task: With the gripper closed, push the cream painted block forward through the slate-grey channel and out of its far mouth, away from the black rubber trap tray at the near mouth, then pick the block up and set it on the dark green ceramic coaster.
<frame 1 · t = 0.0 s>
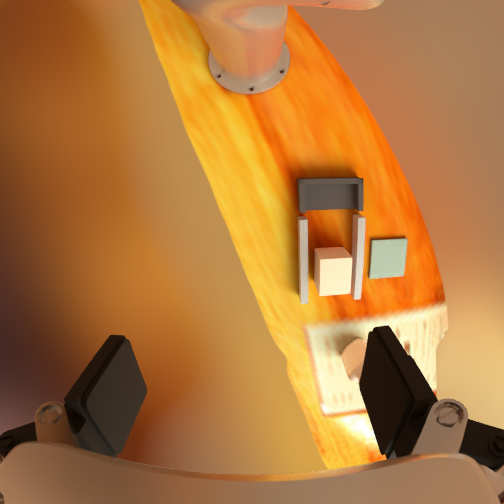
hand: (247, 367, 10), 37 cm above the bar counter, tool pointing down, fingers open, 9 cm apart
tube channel: (329, 256, 47), on the bar counter
trap tray: (328, 193, 44), on the bar counter
eye dropper bottle: (352, 347, 53), on the bar counter
green coaster: (387, 257, 47), on the bar counter
cream block: (328, 264, 48), on the bar counter
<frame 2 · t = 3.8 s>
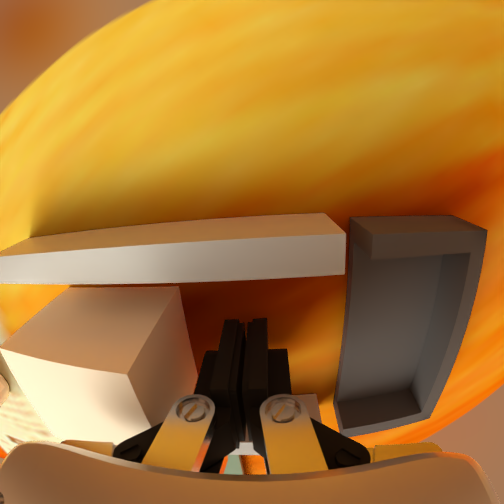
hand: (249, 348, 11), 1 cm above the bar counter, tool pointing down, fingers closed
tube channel: (165, 336, 12), on the bar counter
trap tray: (393, 323, 12), on the bar counter
green coaster: (191, 457, 16), on the bar counter
cream block: (130, 334, 13), on the bar counter, touching gripper
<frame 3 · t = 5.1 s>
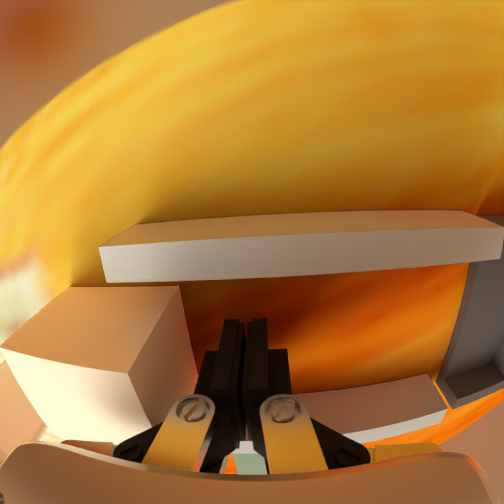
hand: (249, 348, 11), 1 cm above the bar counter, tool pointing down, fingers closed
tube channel: (313, 331, 12), on the bar counter
trap tray: (489, 304, 12), on the bar counter
eye dropper bottle: (33, 383, 15), on the bar counter
green coaster: (287, 458, 16), on the bar counter
cream block: (130, 333, 13), on the bar counter, touching gripper
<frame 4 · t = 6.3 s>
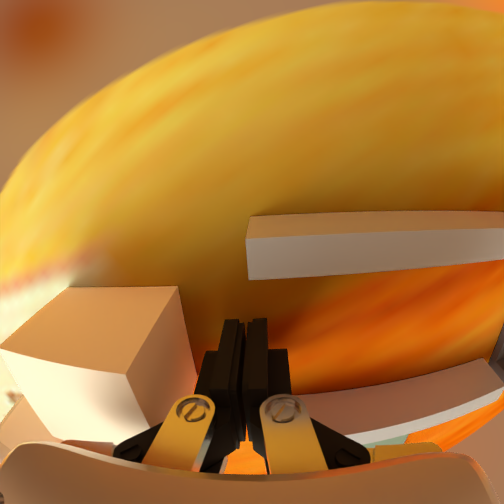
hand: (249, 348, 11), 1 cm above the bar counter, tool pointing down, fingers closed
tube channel: (407, 321, 12), on the bar counter
eye dropper bottle: (74, 396, 15), on the bar counter
cream block: (129, 334, 13), on the bar counter, touching gripper
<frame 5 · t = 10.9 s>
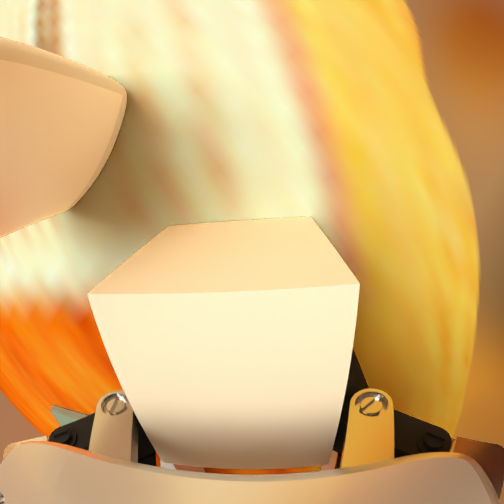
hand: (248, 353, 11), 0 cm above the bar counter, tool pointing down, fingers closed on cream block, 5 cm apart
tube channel: (262, 468, 15), on the bar counter
eye dropper bottle: (82, 142, 9), on the bar counter
green coaster: (109, 444, 15), on the bar counter
cream block: (244, 298, 11), on the bar counter, touching gripper
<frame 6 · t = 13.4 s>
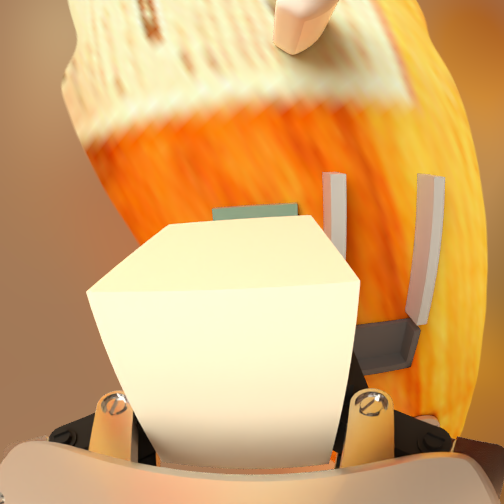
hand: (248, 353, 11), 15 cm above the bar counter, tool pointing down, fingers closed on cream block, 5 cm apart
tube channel: (377, 249, 25), on the bar counter
trap tray: (366, 342, 28), on the bar counter
eye dropper bottle: (299, 31, 19), on the bar counter
green coaster: (257, 244, 25), on the bar counter
cream block: (244, 297, 11), point 14 cm above the bar counter, touching gripper
when the fingers open (3 cm above the bar counter, at t = 15.9 s): cream block drops 1 cm, resting on green coaster.
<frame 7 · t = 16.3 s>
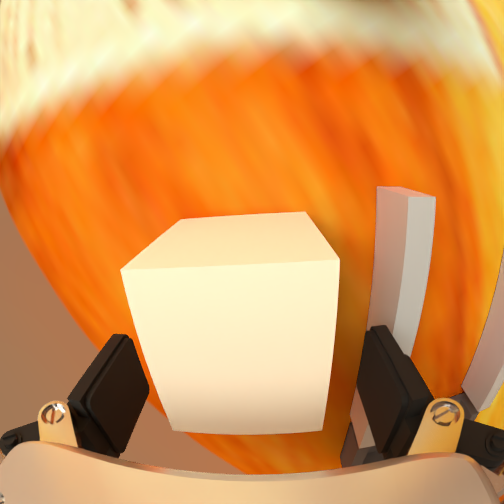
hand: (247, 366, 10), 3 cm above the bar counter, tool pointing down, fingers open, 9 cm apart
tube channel: (446, 314, 13), on the bar counter
trap tray: (405, 428, 17), on the bar counter
cream block: (247, 284, 12), point 1 cm above the bar counter, touching green coaster
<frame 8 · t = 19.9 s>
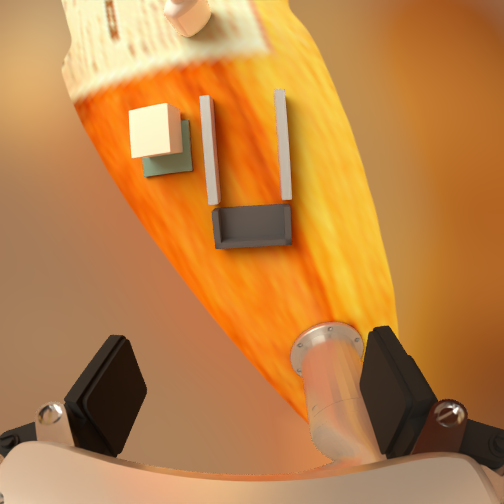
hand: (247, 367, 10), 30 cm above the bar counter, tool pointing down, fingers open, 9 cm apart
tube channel: (247, 146, 36), on the bar counter
trap tray: (252, 223, 39), on the bar counter
eye dropper bottle: (195, 23, 30), on the bar counter
green coaster: (166, 148, 37), on the bar counter
cream block: (163, 133, 35), point 1 cm above the bar counter, touching green coaster
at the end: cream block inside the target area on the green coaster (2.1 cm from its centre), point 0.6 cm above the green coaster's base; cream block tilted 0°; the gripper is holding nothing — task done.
